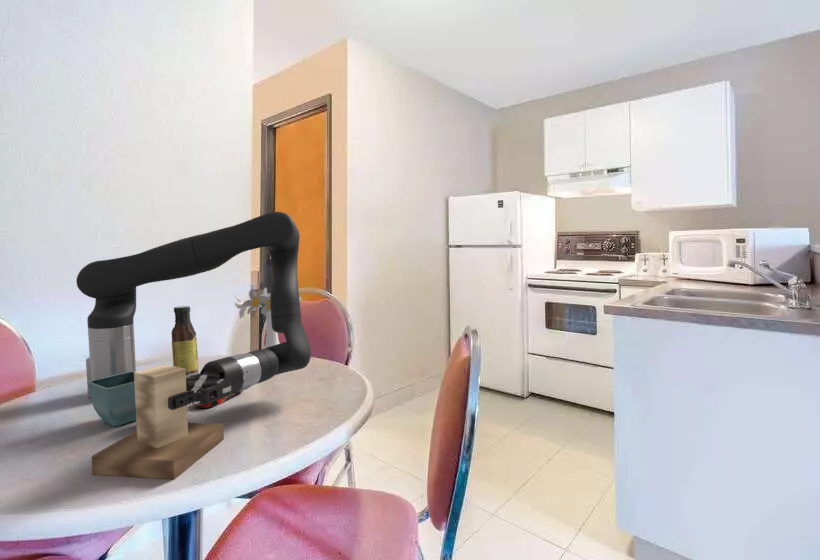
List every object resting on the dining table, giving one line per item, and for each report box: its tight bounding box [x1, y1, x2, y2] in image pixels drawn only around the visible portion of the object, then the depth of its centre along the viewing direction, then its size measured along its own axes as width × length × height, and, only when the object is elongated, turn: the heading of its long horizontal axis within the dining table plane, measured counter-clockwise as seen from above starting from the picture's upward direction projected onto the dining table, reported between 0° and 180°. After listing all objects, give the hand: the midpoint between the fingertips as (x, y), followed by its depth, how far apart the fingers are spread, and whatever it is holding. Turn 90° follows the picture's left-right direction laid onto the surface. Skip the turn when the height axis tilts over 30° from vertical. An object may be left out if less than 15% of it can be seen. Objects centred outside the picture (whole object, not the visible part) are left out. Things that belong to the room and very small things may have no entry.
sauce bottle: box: [171, 305, 199, 375], centre depth 119 cm, size 6×6×20 cm
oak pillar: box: [134, 364, 189, 448], centre depth 73 cm, size 6×6×12 cm
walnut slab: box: [91, 421, 225, 480], centre depth 73 cm, size 14×14×3 cm
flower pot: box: [86, 371, 136, 427], centre depth 88 cm, size 9×9×9 cm
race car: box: [193, 391, 243, 409], centre depth 101 cm, size 13×5×4 cm, turn 161°
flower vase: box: [234, 287, 302, 349], centre depth 124 cm, size 13×18×25 cm
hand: (153, 399), depth 72 cm, fingers open, 8 cm apart
